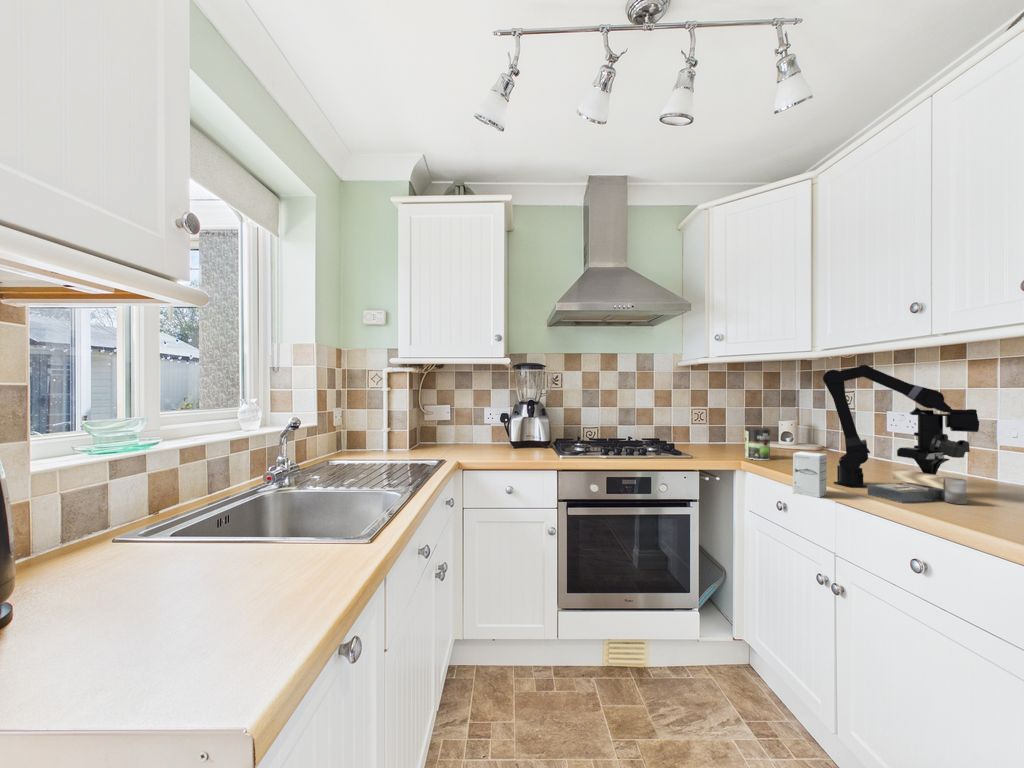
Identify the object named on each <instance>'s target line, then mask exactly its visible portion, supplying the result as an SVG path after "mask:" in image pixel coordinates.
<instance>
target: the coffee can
mask: <svg viewBox="0 0 1024 768" xmlns="http://www.w3.org/2000/svg"><path fill="white" fill-rule="evenodd" d="M770 445H771V429H770V428H766V427H744V456H745V457H744V459H746V458H747V459H746V460H750V459H753V460H752V461H761V460H763V461H771V446H770Z"/></svg>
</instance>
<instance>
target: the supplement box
mask: <svg viewBox="0 0 1024 768" xmlns="http://www.w3.org/2000/svg"><path fill="white" fill-rule="evenodd" d="M792 456H793V457H792V494H793V495H794V494H797V495H803V496H808V497H812V498H813V497H814V498H818V499H819V498H823V497H824V496H826V495H827V479H828V478H827V477H828V476H827V473H828V472H827V469H828V467H827V463H828V462H827V461H828V454H826V453H818V452H809V451H801V450H800V451H796V452H794V453H793V454H792Z"/></svg>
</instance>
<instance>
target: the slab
mask: <svg viewBox="0 0 1024 768" xmlns="http://www.w3.org/2000/svg"><path fill="white" fill-rule="evenodd" d="M867 495H868V496H871V495H872V496H871V497H875V496H876V497H875V498H879V497H881V498H880V499H883V498H885V499H884V500H887V499H889V501H892V500H894V501H893V502H896V501H898V502H897V503H900V502H901V504H907V503H906V502H911V503H920V502H919V501H928V502H934V501H933V500H944V501H945V489H941V488H936V487H930V486H925V485H920V484H915V483H910V482H899V483H898V482H897V483H880V484H867Z"/></svg>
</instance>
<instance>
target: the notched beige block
mask: <svg viewBox="0 0 1024 768" xmlns="http://www.w3.org/2000/svg"><path fill="white" fill-rule="evenodd" d="M892 480H896V481H901V482H904V483H915V484H920V485H925V486H930V487H936V488H941V489H945V500H944V502H947V503H949V504H956V505H967V480H966V479H964V478H963V479H962V478H957V477H951V476H945V475H939V474H936V475H935V474H929V473H923V472H921V471H916V470H910V469H904V468H902V469H900V468H899V469H892Z"/></svg>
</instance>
